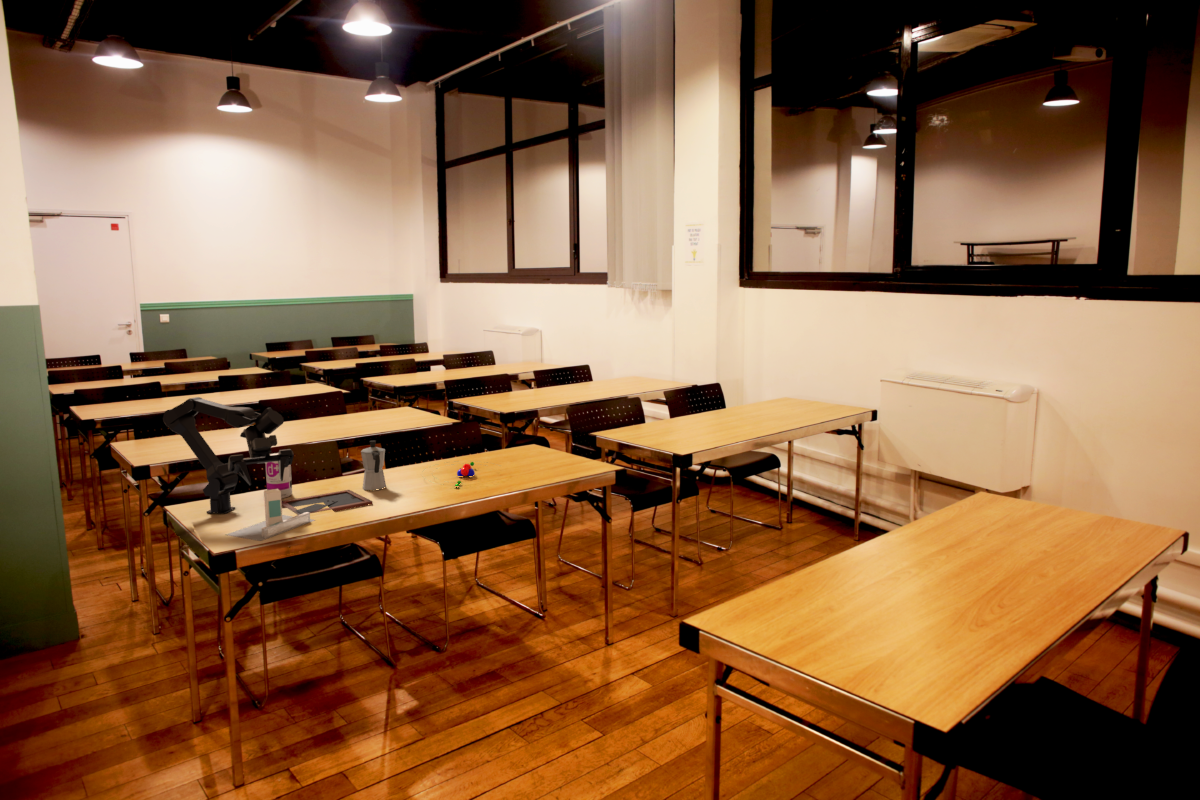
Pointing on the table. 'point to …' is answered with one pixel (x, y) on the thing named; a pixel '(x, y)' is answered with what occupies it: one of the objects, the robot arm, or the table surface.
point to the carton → (273, 506)
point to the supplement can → (278, 478)
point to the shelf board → (257, 530)
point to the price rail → (285, 525)
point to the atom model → (463, 471)
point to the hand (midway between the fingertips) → (266, 482)
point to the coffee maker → (373, 467)
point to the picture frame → (327, 502)
